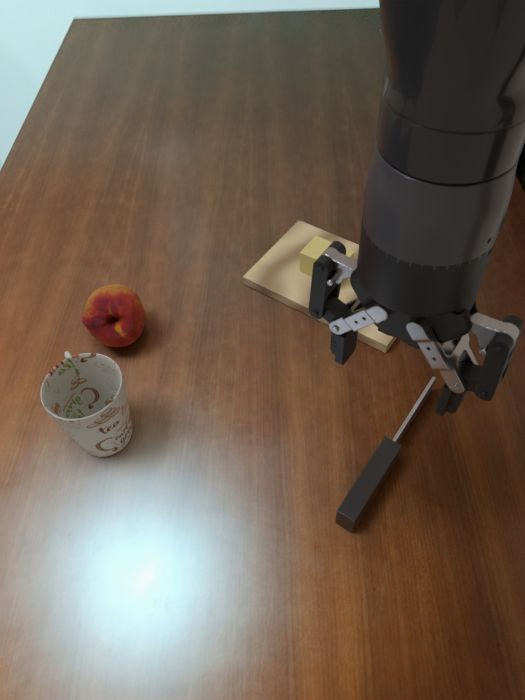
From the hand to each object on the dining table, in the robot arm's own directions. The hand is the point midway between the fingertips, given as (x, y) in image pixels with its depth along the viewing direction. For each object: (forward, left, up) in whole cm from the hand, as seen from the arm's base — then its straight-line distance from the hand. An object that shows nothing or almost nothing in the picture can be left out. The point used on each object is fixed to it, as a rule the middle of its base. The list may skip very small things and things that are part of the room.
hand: (392, 380), depth 45 cm
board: (+18, -24, -20) cm, 36 cm away
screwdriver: (0, -5, -20) cm, 21 cm away
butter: (+20, -24, -19) cm, 36 cm away
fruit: (+37, -1, -20) cm, 42 cm away
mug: (+30, +10, -20) cm, 38 cm away
